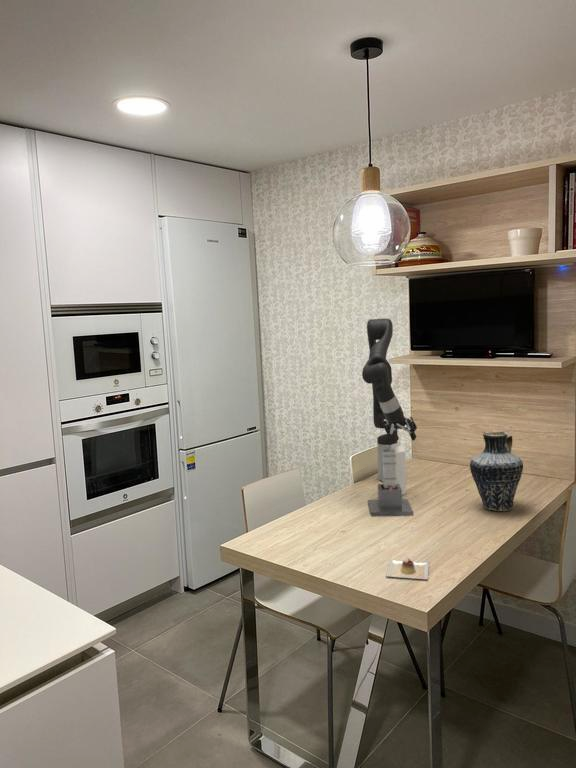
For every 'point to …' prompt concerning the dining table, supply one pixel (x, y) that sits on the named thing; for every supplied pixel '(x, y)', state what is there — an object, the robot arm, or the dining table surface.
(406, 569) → the dessert
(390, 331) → the robot arm
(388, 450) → the column
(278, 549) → the dining table surface
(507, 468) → the jug
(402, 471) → the milk
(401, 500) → the stand
